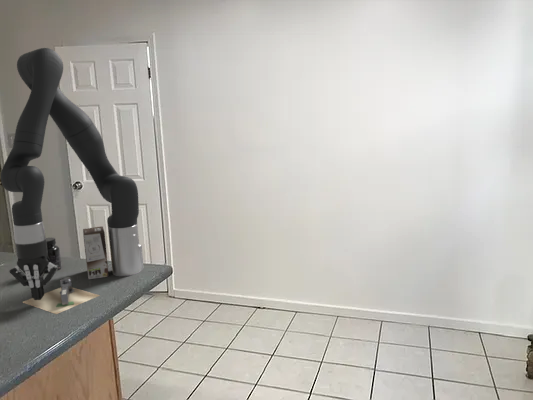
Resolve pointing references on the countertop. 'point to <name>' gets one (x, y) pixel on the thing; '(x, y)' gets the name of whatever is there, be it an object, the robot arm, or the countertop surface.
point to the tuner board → (54, 302)
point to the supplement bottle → (53, 253)
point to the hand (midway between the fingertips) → (38, 298)
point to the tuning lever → (65, 289)
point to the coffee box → (95, 252)
